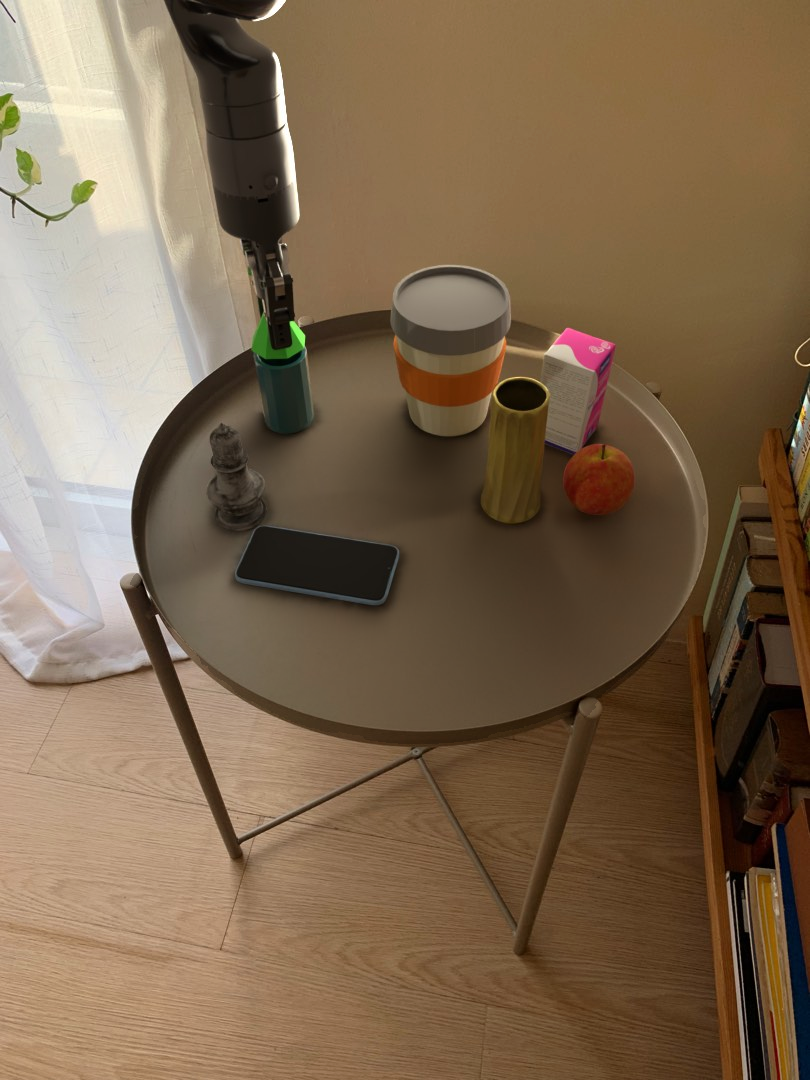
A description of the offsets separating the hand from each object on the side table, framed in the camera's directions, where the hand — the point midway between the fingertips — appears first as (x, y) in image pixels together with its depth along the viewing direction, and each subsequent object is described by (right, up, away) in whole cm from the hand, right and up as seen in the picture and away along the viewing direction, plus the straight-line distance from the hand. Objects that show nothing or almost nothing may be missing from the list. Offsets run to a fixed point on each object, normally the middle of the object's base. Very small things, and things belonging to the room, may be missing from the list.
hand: (276, 332), depth 92 cm
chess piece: (-3, -19, -1) cm, 19 cm away
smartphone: (+5, -24, -6) cm, 26 cm away
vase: (+24, -18, -1) cm, 30 cm away
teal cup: (0, -8, +9) cm, 12 cm away
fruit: (+33, -18, -1) cm, 38 cm away
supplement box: (+31, -10, +6) cm, 33 cm away
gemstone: (0, -1, +1) cm, 2 cm away
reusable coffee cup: (+18, -7, +9) cm, 22 cm away
